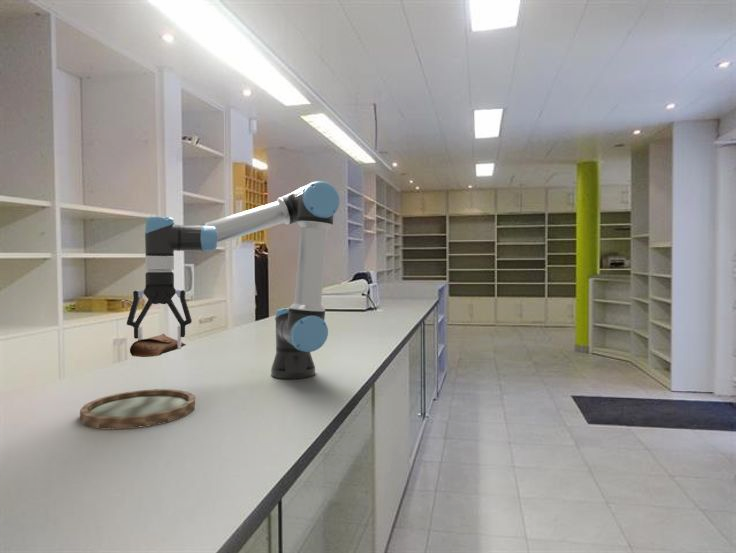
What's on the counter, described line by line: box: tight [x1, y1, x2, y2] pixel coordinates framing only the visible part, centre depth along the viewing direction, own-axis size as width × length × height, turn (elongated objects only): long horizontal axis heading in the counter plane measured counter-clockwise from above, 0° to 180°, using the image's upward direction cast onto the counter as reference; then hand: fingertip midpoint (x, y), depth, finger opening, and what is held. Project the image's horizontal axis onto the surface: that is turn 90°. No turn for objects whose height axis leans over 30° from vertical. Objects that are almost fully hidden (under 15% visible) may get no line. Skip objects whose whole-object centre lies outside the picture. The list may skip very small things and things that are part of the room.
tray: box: [79, 388, 196, 430], centre depth 133 cm, size 27×27×2 cm
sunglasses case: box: [129, 333, 187, 358], centre depth 145 cm, size 18×7×7 cm
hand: (160, 349), depth 145 cm, fingers closed on sunglasses case, 10 cm apart
